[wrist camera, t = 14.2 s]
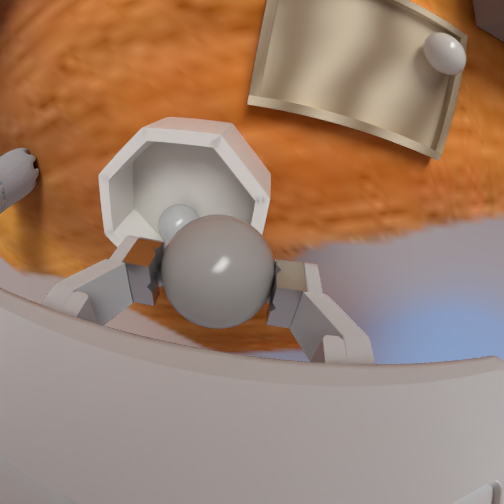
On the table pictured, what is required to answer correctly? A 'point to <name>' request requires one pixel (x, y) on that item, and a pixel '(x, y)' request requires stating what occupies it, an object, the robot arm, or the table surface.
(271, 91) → the oak tray
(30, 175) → the bottle
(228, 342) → the table surface
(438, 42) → the white ball
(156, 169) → the ceramic bowl
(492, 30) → the organizer tray
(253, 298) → the grey ball
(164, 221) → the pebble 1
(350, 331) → the robot arm
